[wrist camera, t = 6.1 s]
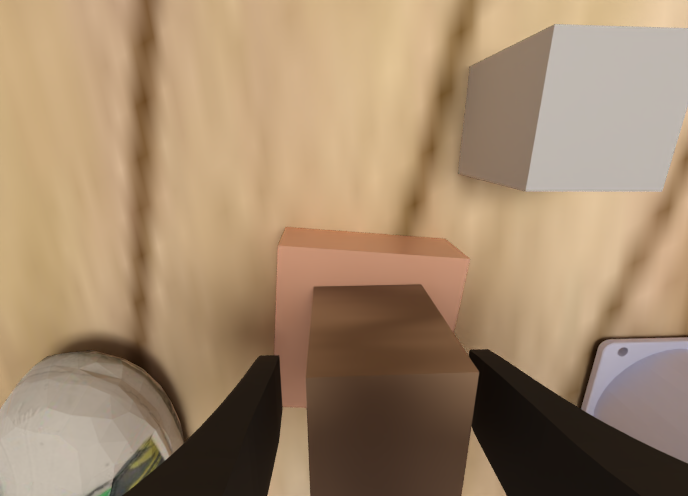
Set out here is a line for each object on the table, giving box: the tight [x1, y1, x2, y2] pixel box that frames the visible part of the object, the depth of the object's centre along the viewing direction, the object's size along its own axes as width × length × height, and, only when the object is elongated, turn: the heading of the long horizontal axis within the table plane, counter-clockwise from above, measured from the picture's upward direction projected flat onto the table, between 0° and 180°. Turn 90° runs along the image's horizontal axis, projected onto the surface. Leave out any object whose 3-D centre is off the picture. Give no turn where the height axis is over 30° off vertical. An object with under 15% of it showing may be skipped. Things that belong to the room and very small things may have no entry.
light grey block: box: [458, 24, 688, 192], centre depth 11 cm, size 4×4×5 cm
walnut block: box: [306, 284, 479, 496], centre depth 11 cm, size 4×4×5 cm
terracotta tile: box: [274, 227, 470, 408], centre depth 15 cm, size 7×7×3 cm
